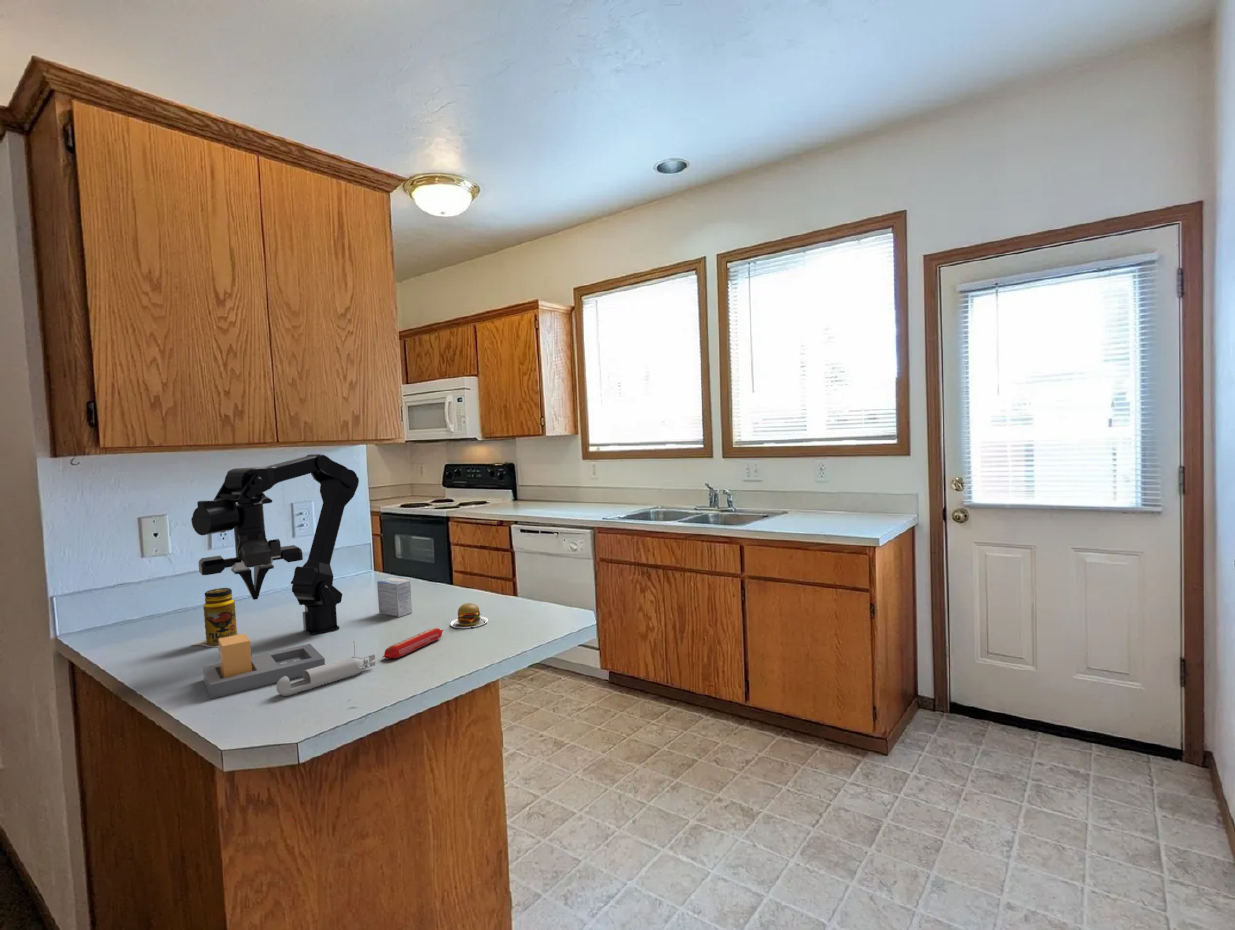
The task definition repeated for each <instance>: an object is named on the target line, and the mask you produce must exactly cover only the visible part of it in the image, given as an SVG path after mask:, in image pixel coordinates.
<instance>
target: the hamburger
mask: <svg viewBox="0 0 1235 930" xmlns="http://www.w3.org/2000/svg"><path fill="white" fill-rule="evenodd" d="M480 619H481V620H482V621H484V622H485V623H481V624H480ZM456 621H457V622H456ZM488 621H489V619H488V617H485V616H482V614H481V611H480V607H479V606H478V605H477V604H476V603H470V602H469V603H468V602H467V603H463V604H462V605H461V606H459V607H458V609H457V618H455V619H453V620H452V621H451V622H450V623H449V625H450V626H451V627H453V628H457V629H472V628H471V627H474V628H478V627H481V626H483V625H485V624H486V623H487V622H488ZM455 622H456V623H458V624H459V626H460V627H459V626H455V624H456V623H455ZM454 623H455V624H454ZM453 624H454V626H453ZM476 624H477V625H476ZM478 624H479V625H478ZM473 625H474V626H473Z"/></svg>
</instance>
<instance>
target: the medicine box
mask: <svg viewBox="0 0 1235 930" xmlns="http://www.w3.org/2000/svg"><path fill="white" fill-rule="evenodd" d="M411 587H412V585H411V580H410V579H404V578H397V577H387V578H384V579H380V580H378V581H377V599H378V602H377V603H378V613H379V614H382V615H385V616H386V615H387V616H392V617H398V618H401V617H404V616H406V615H410V614H412V613H413V603H412V588H411Z"/></svg>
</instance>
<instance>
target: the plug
mask: <svg viewBox="0 0 1235 930" xmlns="http://www.w3.org/2000/svg"><path fill="white" fill-rule="evenodd" d="M250 640H251V639H250V638H249V637H248V636H247V634H246V633H240V634H237V635H234V636H229V637H224V638H219V639H218V641H219V647H218V652H219V653H218V655H219V663H220V669H221V676H222V678H225V677H230V676H234V675H239V674H243V673H247V672H252V664H251V656H252V652H251V641H250Z"/></svg>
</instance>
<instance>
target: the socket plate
mask: <svg viewBox="0 0 1235 930" xmlns="http://www.w3.org/2000/svg"><path fill="white" fill-rule="evenodd" d="M251 664H252V672H247V673H243V674H239V675H234V676H230V677H225V678H222V676H221V669H220V662H219V663H214V664H209V665H205V666H202V674H203V682H204V683H205V687H206V689H207V691H208V694H209V697H210V699H215V698H220V697H223V696H228V695H232V694H236V693H240V691H241V692H244V691H243V690H245V691H248V690H247V689H249V690H252V689H256V688H262V687H265V686H268V685H272V684H277V682H278V681H279V680H280V678H282V677H284V676H287V677H288V678H289V680H293V678H294V679H297V678H296V677H298V678H301V677H303V672H304V670H308V669H311V668H315V667H318V666H322V665H325V664H326V659H325V657H324V656H323V655H322V654H321V653H320V652H319V651H318V650H317V649H316V648H315V647H314V646H313V645H312V644H311V643H307V644H303V645H302V644H301V645H298V646H293V647H287V648H284V649H279V650H274V651H271V652H265V653H260V654H255V655H251ZM264 685H265V686H264ZM219 696H220V697H219Z"/></svg>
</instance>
